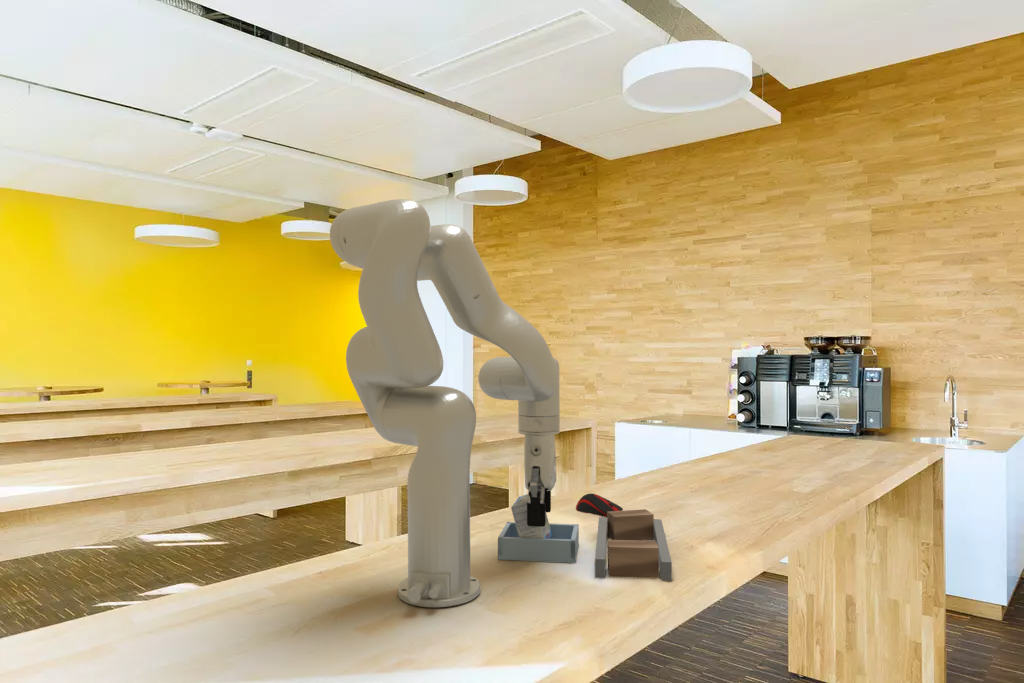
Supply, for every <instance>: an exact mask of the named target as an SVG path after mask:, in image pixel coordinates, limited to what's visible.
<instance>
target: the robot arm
mask: <svg viewBox="0 0 1024 683" xmlns="http://www.w3.org/2000/svg"><path fill="white" fill-rule="evenodd" d="M430 220H431V219H430V217H429V214H428V212H427V210H426V209H425V207H424V206H423V205H422V204H421V203H419V202H418V201H415V200H412V199H407V198H406V199H405V198H403V199H402V198H397V199H388V200H385V201H384V200H383V201H379V202H375V203H369V204H364V205H360V206H356V207H355V206H354V207H350V208H348V209H345V210H344V211H342V212H340V213H339V214H337V215H336V216H335V218H334V219H333V220H332V223H331V225H330V229H329V239H330V245H331V247H332V249H333V251H334V252H335V254H337V256H338V257H339V258H340V259H341V260H342V261H344V262H346V263H347V264H349V265H351V266H353V267H357V268H359V269H362V271H361V274H360V277H359V283H358V293H357V295H358V296H357V297H358V304H359V308H360V312H361V314H362V316H363V319H364V322H365V325H366V326H365V327H363V328H360V329H358V330H357V331H356V332H355V333H354V334H353V335H352V336H351V338H350V340H349V342H348V344H347V347H346V352H345V362H346V369H347V373H348V376H349V378H350V381H351V383H352V385H353V387H354V389H355V391H356V394H357V396H358V398H359V399H360V402H361V404H362V406H363V408H364V410H365V412H366V415H367V417H368V420H369V421H370V422H371V424H372V426H373V428H374V429H375V431H376V432H377V433H378V434H379V436H380V437H382V439H384V440H385V441H388V442H390V443H394V444H398V445H404V446H405V445H406V446H413V447H416V448H417V450H416V452H415V456H414V457H413V459H412V461H411V464H410V467H409V469H408V473H407V481H406V482H407V491H406V492H407V578H405V579H404V580H402V581H401V582H400V583H399V584H398V586H397V596H398V598H399V599H400V600H402V601H403V602H404V603H407V604H410V605H411V606H416V607H417V606H418V607H421V608H422V607H423V608H446V607H447V608H448V607H453V606H458V605H462V604H465V603H468V602H470V601H473V600H474V599H476V598H477V597H478V596H479V595H480V593H481V586H482V585H481V582H480V581H479V579H478V578H476V576H473V575H471V489H470V488H471V486H470V484H471V483H470V482H471V479H470V478H471V477H470V476H471V475H470V474H471V472H470V471H471V468H470V467H471V456H472V450H473V449H472V448H473V442H474V437H475V431H476V425H477V413H476V412H477V411H476V407H475V404H474V403H473V401H472V400H471V398H470V397H469V396H468V395H467V394H466V393H464V392H463V391H461V390H459V389H456V388H453V387H449V386H441V385H440V386H439V385H434V383H436V381H438V380H439V379H440V377H441V376H442V373H443V371H444V357H443V352H442V350H441V347H440V344H439V342H438V340H437V336H436V334H435V332H434V329H433V326H432V324H431V322H430V319H429V317H428V315H427V312H426V310H425V308H424V304H423V302H422V298H421V296H420V293H419V289H418V282H421V281H431V282H432V283H433V286H434V288H435V289H436V291H437V292H438V294H439V296H440V298H441V300H442V301H443V303H444V305H445V307H446V310H447V311H448V313H449V315H450V317H451V320H452V321H453V323H454V324H455V325H456V327H458V328H459V329H460V330H463V331H465V332H466V333H468V334H470V335H472V336H474V337H476V338H479V339H481V340H484V341H486V342H489V343H491V344H492V345H495V346H496V347H498V348H500V349H501V350H503V352H506V354H508V355H509V356H496V357H492V358H491V359H489V360H487V361H486V362H485V363H483V365H482V366H481V368H480V369H479V371H478V381H477V382H478V384H479V387H480V389H481V390H482V392H483V393H484V394H485V395H487V396H488V397H490V398H493V399H496V400H505V401H517V402H518V403H517V406H518V407H517V410H518V411H517V412H518V416H517V417H518V419H517V420H518V434H520V435H524V440H523V441H524V445H523V446H524V450H523V451H524V453H523V454H524V455H523V456H524V457H523V458H524V460H523V461H524V468H523V469H524V485H525V486H524V487H525V489H527V490H528V492H527V494H528V503H527V525H528V526H539V527H544V526H545V524H546V514H547V513H551V510H552V490H553V489H554V488H555V485H556V483H557V463H556V462H557V461H556V438H555V435H558V434H560V433H561V432H560V431H561V430H560V429H561V428H560V427H561V424H560V422H561V421H560V420H561V418H560V417H561V416H560V413H561V412H560V401H561V400H560V399H561V398H560V363H559V361H558V359H557V358H555V357H554V356H553V354H552V352H551V349H550V348H549V346H548V344H547V341H546V339H545V338H544V337H543V335H542V334H541V332H540V331H539V330H538V329H537V328H536V327H535V326H534V325H533V324H532V323H531V322H529V321H528V320H527V319H526V318H525V317H523V316H522V315H521V314H520V313H519V312H518V311H516V310H515V309H514V308H512V307H511V306H509V305H508V304H507V303H506V302H504V301H503V300H502V298H501V297H500V295H499V293H498V291H497V289H496V287H495V285H494V283H493V281H492V278H491V276H490V275H489V272H488V270H487V269H486V266H485V264H484V262H483V260H482V257H481V256H480V254H479V252H478V250H477V247H476V245H475V243H474V241H473V240H472V238H471V236H470V235H469V233H468V232H467V230H466V229H464V228H463V227H461V226H459V225H457V224H456V225H455V224H448V223H447V224H444V223H443V224H437V225H435V224H434V225H431V221H430ZM540 496H541V497H540Z"/></svg>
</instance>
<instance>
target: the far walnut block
mask: <svg viewBox="0 0 1024 683" xmlns="http://www.w3.org/2000/svg"><path fill="white" fill-rule="evenodd" d="M654 518H655V517H654V513H653V512H650V511H649V510H647V509H627V510H622V511H609V512H607V538H609V540H644V541H654Z"/></svg>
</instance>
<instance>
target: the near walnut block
mask: <svg viewBox="0 0 1024 683" xmlns="http://www.w3.org/2000/svg"><path fill="white" fill-rule="evenodd" d="M607 572H608V577H609V578H643V579H644V578H646V579H659V578H660V575H659V574H660V569H659V548H658V545H657V543H656V541H654V540H611V539H607Z"/></svg>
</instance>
